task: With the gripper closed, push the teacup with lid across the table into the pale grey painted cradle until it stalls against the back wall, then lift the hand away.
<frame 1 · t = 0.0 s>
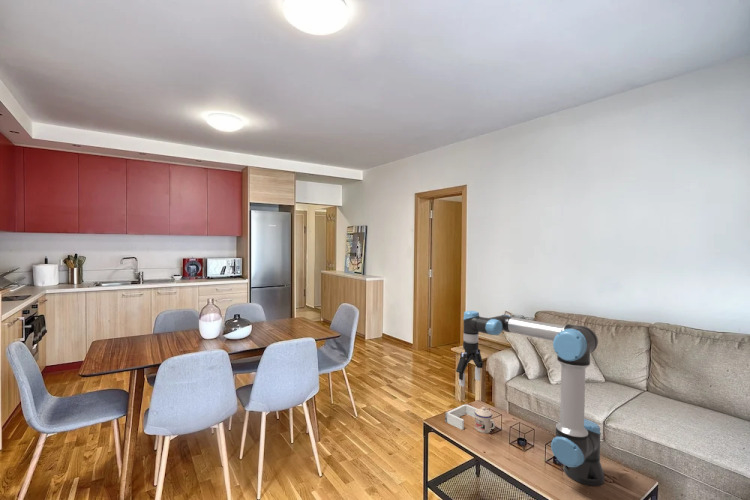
hand: (469, 382, 183), 28 cm above the table, fingers open, 13 cm apart
cradle: (463, 420, 201), on the table
teacup with lid: (485, 430, 190), on the table
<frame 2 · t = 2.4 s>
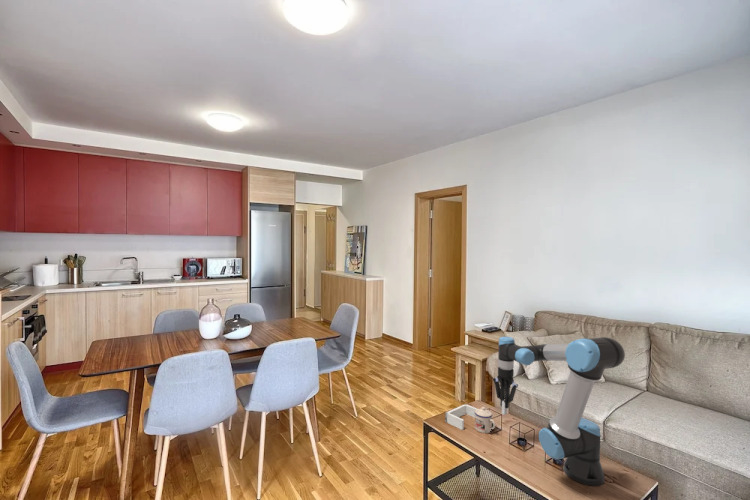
hand: (504, 413, 182), 13 cm above the table, fingers closed
nothing on the table moved.
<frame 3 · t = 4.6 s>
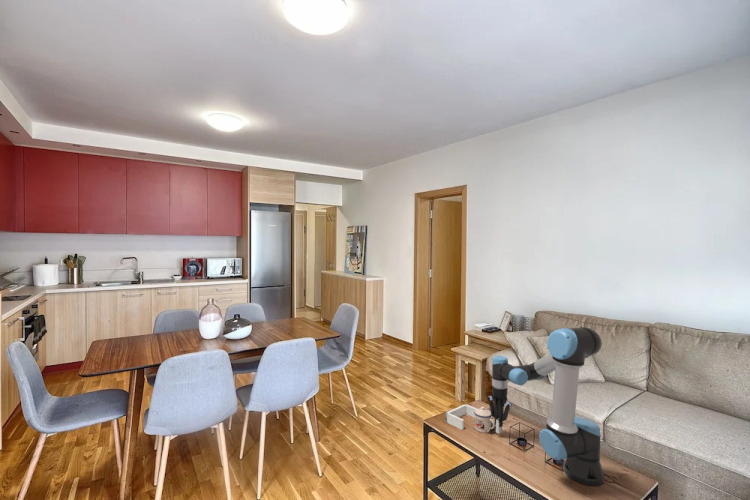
hand: (498, 432, 185), 2 cm above the table, fingers closed
teacup with lid: (484, 430, 191), on the table, touching gripper
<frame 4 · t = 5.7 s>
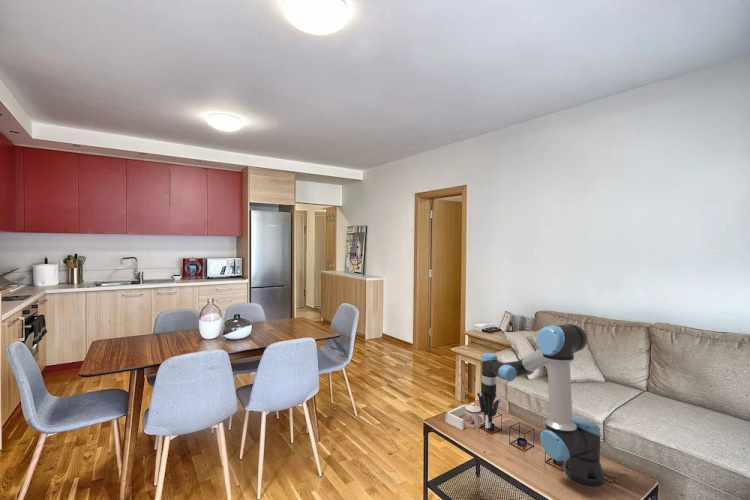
hand: (487, 427, 189), 2 cm above the table, fingers closed
teacup with lid: (474, 426, 195), on the table, touching gripper
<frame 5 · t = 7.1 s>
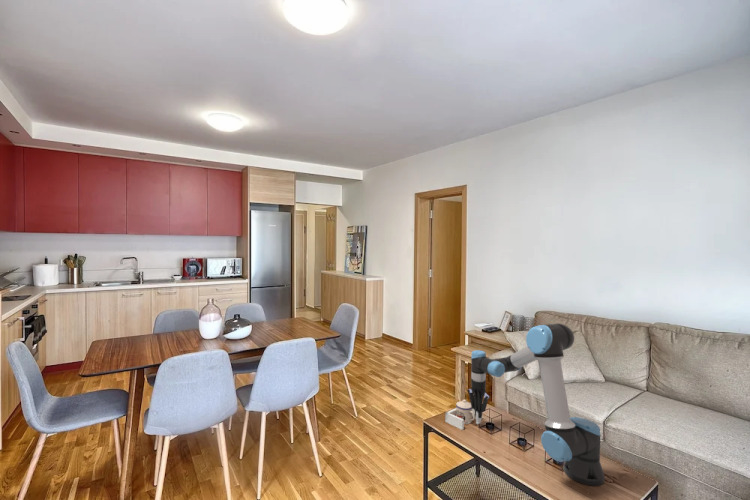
hand: (478, 423, 194), 2 cm above the table, fingers closed
teacup with lid: (465, 422, 200), on the table, touching cradle, gripper
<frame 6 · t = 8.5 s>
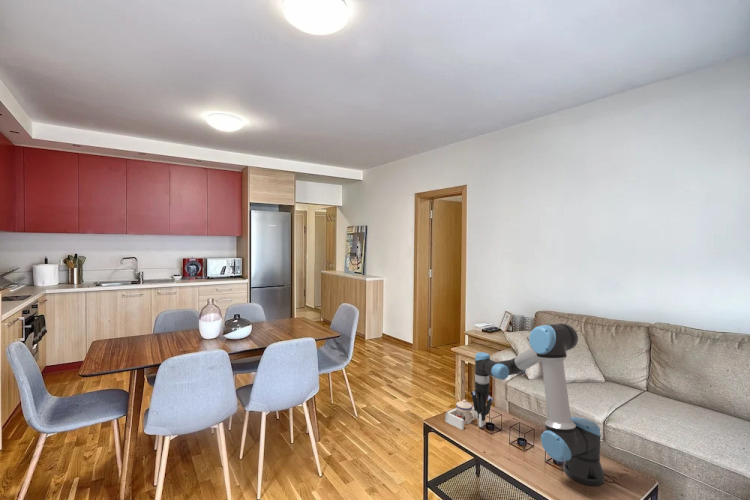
hand: (481, 425, 192), 2 cm above the table, fingers closed
teacup with lid: (465, 422, 200), on the table
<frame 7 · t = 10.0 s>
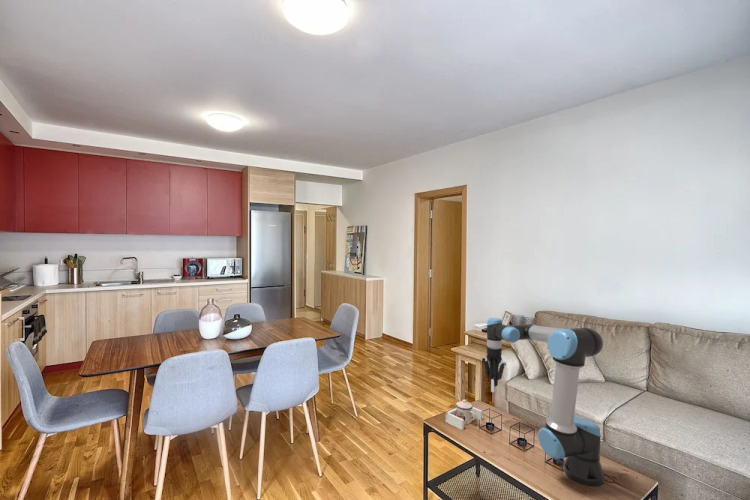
hand: (493, 391, 191), 21 cm above the table, fingers closed
nothing on the table moved.
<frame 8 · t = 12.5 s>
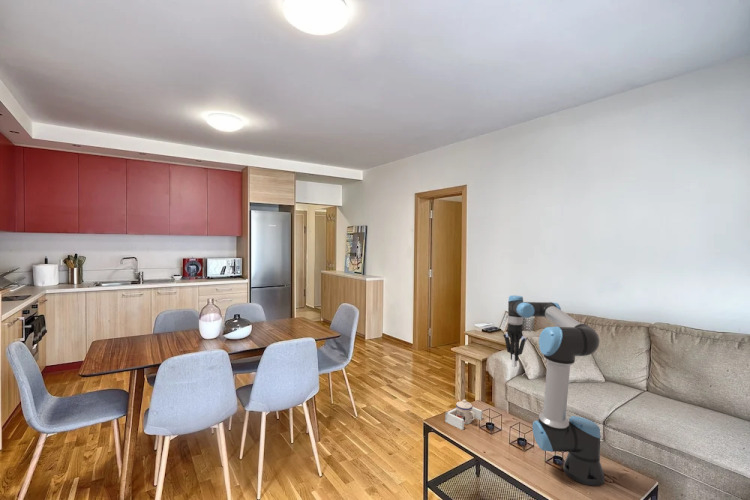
hand: (514, 366, 198), 32 cm above the table, fingers closed
nothing on the table moved.
at the end: teacup with lid inside the target area (0.3 cm from its centre), on the table; teacup with lid tilted 0°; teacup with lid moved 12.3 cm from its start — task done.
